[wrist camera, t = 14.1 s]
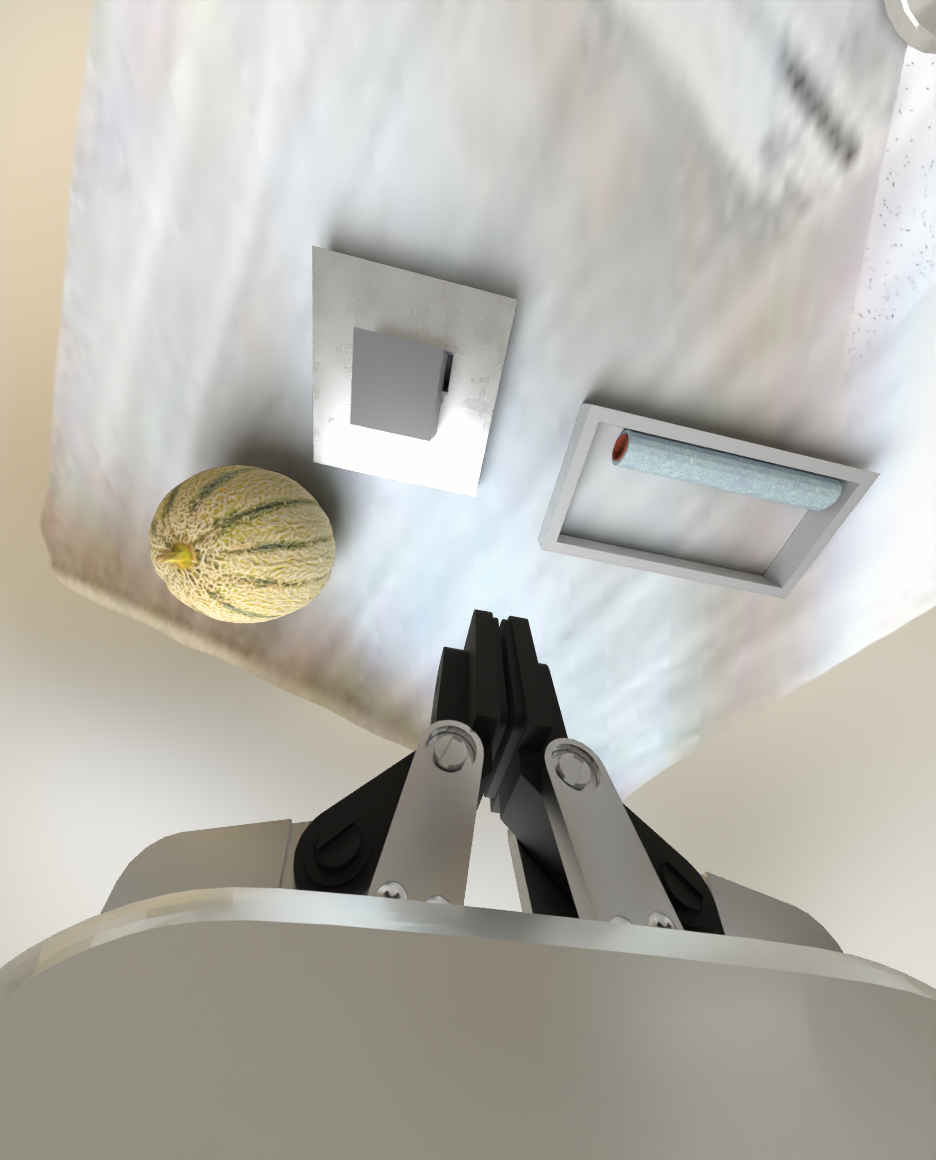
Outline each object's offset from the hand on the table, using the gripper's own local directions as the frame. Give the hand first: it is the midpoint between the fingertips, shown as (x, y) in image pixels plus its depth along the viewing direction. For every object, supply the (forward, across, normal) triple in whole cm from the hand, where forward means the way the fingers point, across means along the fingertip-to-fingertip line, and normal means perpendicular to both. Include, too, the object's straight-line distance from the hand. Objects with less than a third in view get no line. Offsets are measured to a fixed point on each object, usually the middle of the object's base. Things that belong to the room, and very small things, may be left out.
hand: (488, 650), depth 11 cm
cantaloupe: (+29, +20, +10) cm, 37 cm away
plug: (+29, +8, -6) cm, 31 cm away
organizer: (+29, -23, -1) cm, 37 cm away
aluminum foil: (+30, -24, -7) cm, 39 cm away
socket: (+29, +8, -6) cm, 31 cm away
